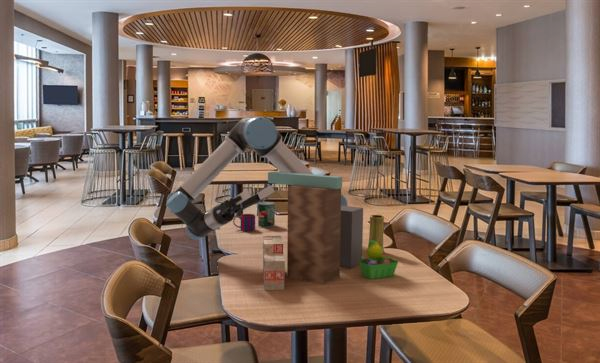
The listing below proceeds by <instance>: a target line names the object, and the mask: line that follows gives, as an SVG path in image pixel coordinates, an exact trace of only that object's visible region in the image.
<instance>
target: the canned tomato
mask: <svg viewBox="0 0 600 363" xmlns="http://www.w3.org/2000/svg"><path fill="white" fill-rule="evenodd" d="M275 208H276V206H275V202H274V201H260V202H258V203H257V221H258V222H257V223H258V224H257V226H258V227H259V226H261V228H271V227H270V226H274V225H275V221H276V220H275V214H276V213H275V212H276V211H275V210H276V209H275ZM274 227H275V226H274Z"/></svg>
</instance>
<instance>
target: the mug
mask: <svg viewBox="0 0 600 363" xmlns="http://www.w3.org/2000/svg"><path fill="white" fill-rule="evenodd" d="M237 218H238V219H240V226H239V225H237V224H235V223H236V222H235V220H236V219H237ZM232 221H233V222H232V223H233V225H234V227H236V228H239V229H240V231H243V232H254V231H256V215H255V214H253V213H242V214H240V216H238V215H237V216H234V218H233V220H232Z"/></svg>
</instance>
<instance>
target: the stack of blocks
mask: <svg viewBox="0 0 600 363" xmlns="http://www.w3.org/2000/svg"><path fill="white" fill-rule="evenodd" d="M285 270H286V259H285V255H284V243H283V238H282V235H263V236H262V275H263V276H262V277H263V288H264V291H283V290H284V291H285V272H286V271H285Z"/></svg>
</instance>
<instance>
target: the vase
mask: <svg viewBox="0 0 600 363" xmlns="http://www.w3.org/2000/svg"><path fill="white" fill-rule="evenodd" d="M384 217H385V216H384V215H380V214H372V215H370V216H369V234H368V235H369V236H368V243H369V242H370V241H371V240H374V241H376V242H377V243H378V244H379V245H380V246H381V248H382V249H383V253H382V254H384V252H385V250H384V223H385V221H384V220H385V218H384Z"/></svg>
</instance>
